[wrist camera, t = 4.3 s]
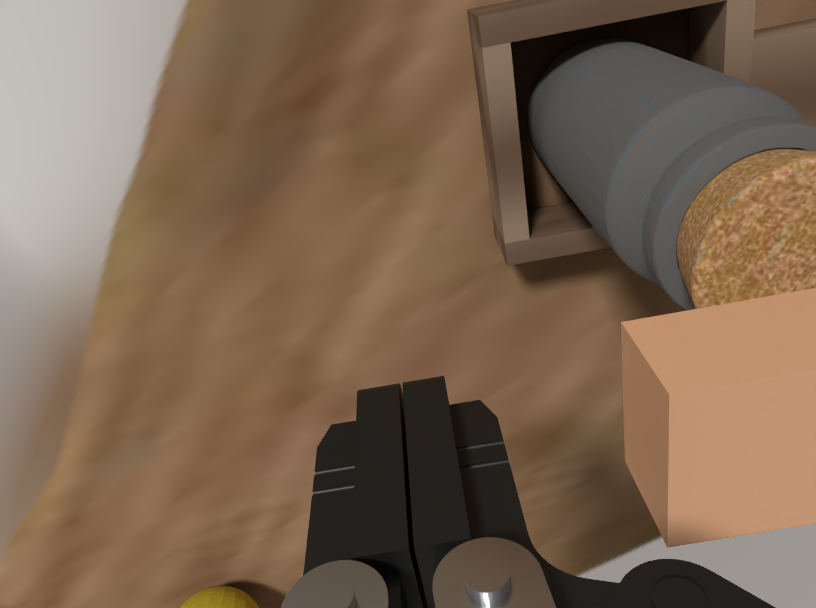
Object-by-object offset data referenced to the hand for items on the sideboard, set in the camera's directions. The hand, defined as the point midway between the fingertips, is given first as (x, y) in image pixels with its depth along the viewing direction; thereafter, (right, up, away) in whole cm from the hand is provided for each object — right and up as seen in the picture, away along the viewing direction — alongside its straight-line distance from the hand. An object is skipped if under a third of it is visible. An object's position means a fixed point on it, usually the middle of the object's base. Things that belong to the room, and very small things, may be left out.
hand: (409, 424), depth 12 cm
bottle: (+8, +10, +16) cm, 21 cm away
